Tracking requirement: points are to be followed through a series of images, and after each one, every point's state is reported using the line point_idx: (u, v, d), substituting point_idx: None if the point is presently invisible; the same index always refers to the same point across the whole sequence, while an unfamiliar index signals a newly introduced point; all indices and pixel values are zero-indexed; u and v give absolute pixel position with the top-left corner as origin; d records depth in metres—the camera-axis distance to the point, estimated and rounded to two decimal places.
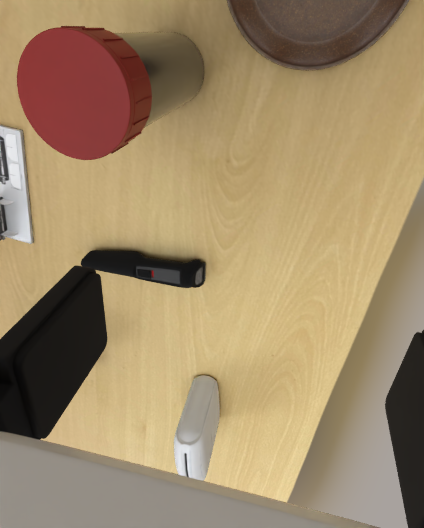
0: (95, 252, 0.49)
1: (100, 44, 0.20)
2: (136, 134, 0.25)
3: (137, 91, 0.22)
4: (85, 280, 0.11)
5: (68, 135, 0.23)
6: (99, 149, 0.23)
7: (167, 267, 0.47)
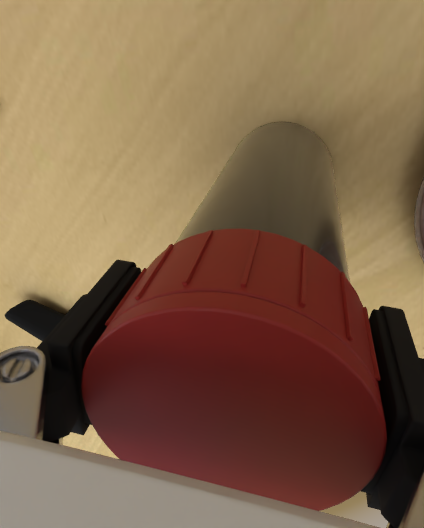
0: (33, 306, 0.33)
1: (383, 419, 0.08)
2: None
3: None
4: (128, 273, 0.11)
5: (158, 454, 0.10)
6: None
7: None
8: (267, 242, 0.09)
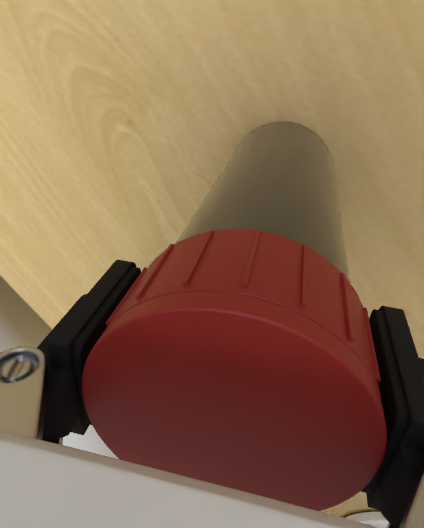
0: None
1: (383, 420, 0.08)
2: None
3: None
4: (128, 273, 0.11)
5: (158, 454, 0.10)
6: None
7: None
8: (268, 242, 0.09)
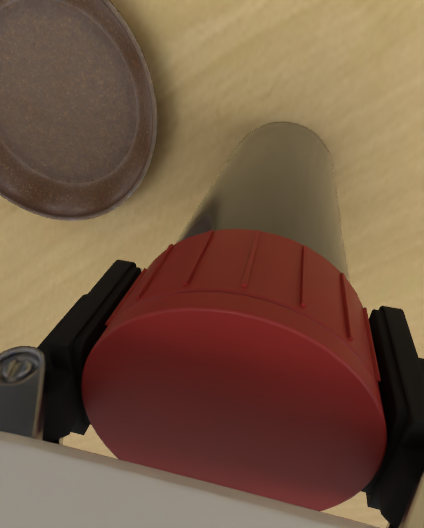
0: None
1: (383, 420, 0.08)
2: None
3: None
4: (128, 273, 0.11)
5: (158, 454, 0.10)
6: None
7: None
8: (268, 242, 0.09)
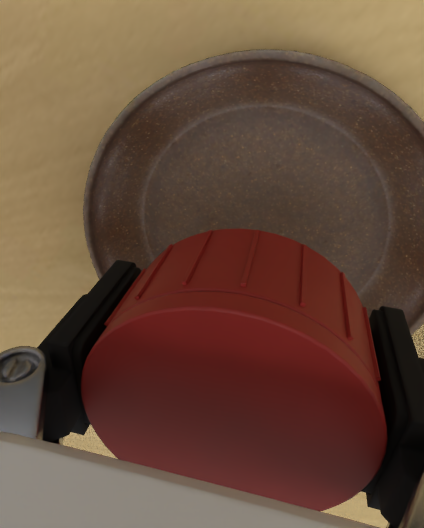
0: None
1: (383, 419, 0.08)
2: None
3: None
4: (128, 274, 0.11)
5: (158, 455, 0.10)
6: None
7: None
8: (267, 242, 0.09)
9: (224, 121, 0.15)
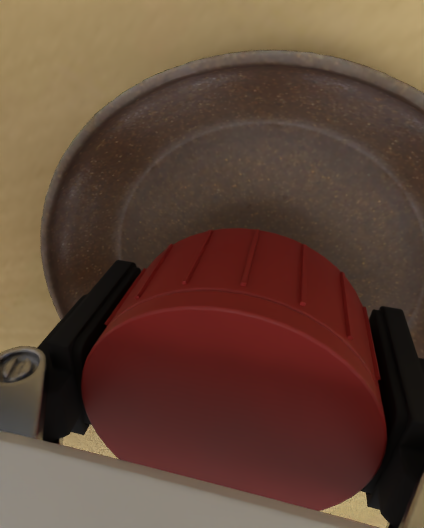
0: None
1: (383, 418, 0.08)
2: None
3: None
4: (128, 273, 0.11)
5: (158, 454, 0.10)
6: None
7: None
8: (267, 242, 0.09)
9: (216, 141, 0.12)
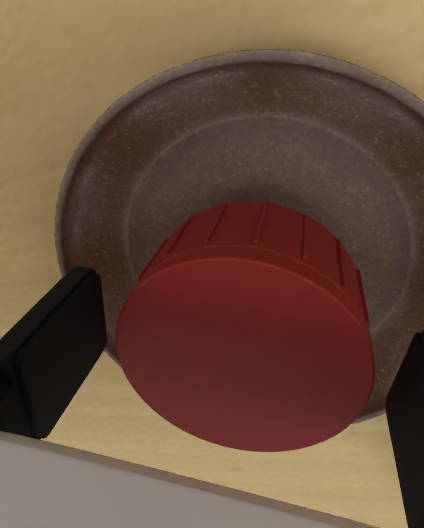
0: None
1: (371, 352, 0.09)
2: None
3: None
4: (85, 280, 0.11)
5: (180, 395, 0.11)
6: (221, 437, 0.12)
7: None
8: (274, 211, 0.11)
9: (218, 134, 0.13)
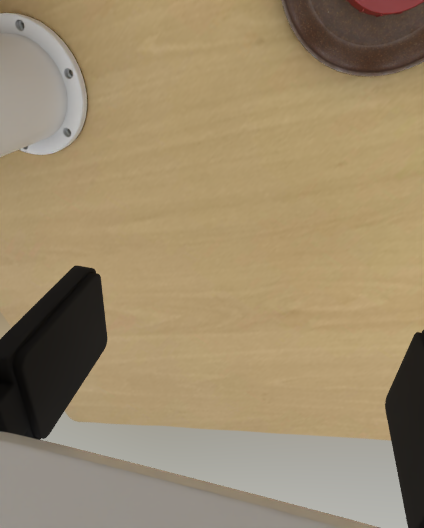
0: None
1: None
2: (398, 12, 0.26)
3: None
4: (85, 280, 0.11)
5: None
6: (383, 4, 0.24)
7: None
8: None
9: None
